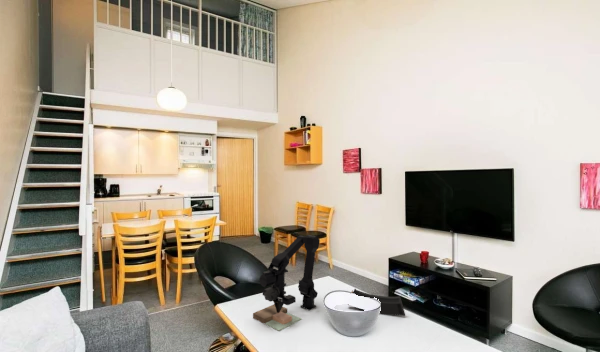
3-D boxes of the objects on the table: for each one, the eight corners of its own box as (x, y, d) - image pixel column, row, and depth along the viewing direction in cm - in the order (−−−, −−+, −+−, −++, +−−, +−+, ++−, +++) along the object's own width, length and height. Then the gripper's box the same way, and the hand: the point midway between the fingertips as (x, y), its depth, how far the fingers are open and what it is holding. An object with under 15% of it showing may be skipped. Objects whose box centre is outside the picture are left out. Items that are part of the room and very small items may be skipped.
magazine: (410, 299, 161) (356, 276, 170) (410, 301, 158) (355, 278, 167) (399, 328, 163) (346, 304, 172) (399, 331, 160) (345, 306, 169)
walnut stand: (275, 308, 168) (275, 303, 168) (287, 313, 162) (287, 308, 162) (252, 318, 156) (253, 313, 156) (264, 324, 150) (264, 319, 150)
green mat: (287, 313, 161) (287, 312, 161) (301, 319, 155) (301, 318, 155) (265, 324, 149) (265, 323, 149) (279, 331, 143) (279, 330, 143)
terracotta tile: (280, 315, 158) (280, 311, 158) (292, 320, 153) (292, 316, 153) (272, 319, 154) (272, 315, 154) (283, 324, 148) (283, 320, 148)
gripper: (254, 281, 155) (254, 311, 155) (280, 291, 142) (279, 324, 143) (270, 276, 163) (270, 305, 163) (296, 285, 151) (295, 316, 151)
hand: (278, 312), depth 155 cm, fingers closed
